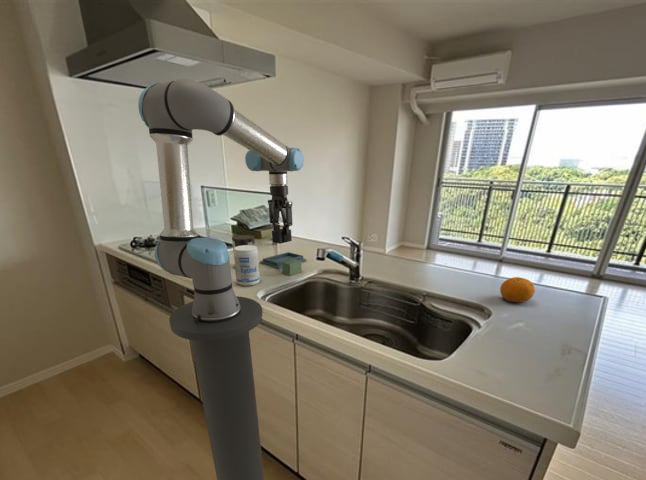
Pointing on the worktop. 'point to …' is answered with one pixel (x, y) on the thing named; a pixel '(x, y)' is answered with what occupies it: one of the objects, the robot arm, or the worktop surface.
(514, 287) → the fruit
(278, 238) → the charcoal block
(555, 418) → the worktop surface
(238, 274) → the supplement tub
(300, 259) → the blue tray
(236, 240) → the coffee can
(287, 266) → the sage pad
